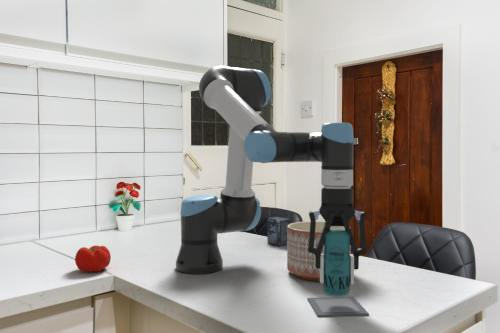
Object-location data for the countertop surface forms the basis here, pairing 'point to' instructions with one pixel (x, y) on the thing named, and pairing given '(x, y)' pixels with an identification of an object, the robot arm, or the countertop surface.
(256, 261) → the countertop surface
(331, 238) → the beverage bottle
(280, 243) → the box
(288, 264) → the planter
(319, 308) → the slate mat
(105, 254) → the tomato
